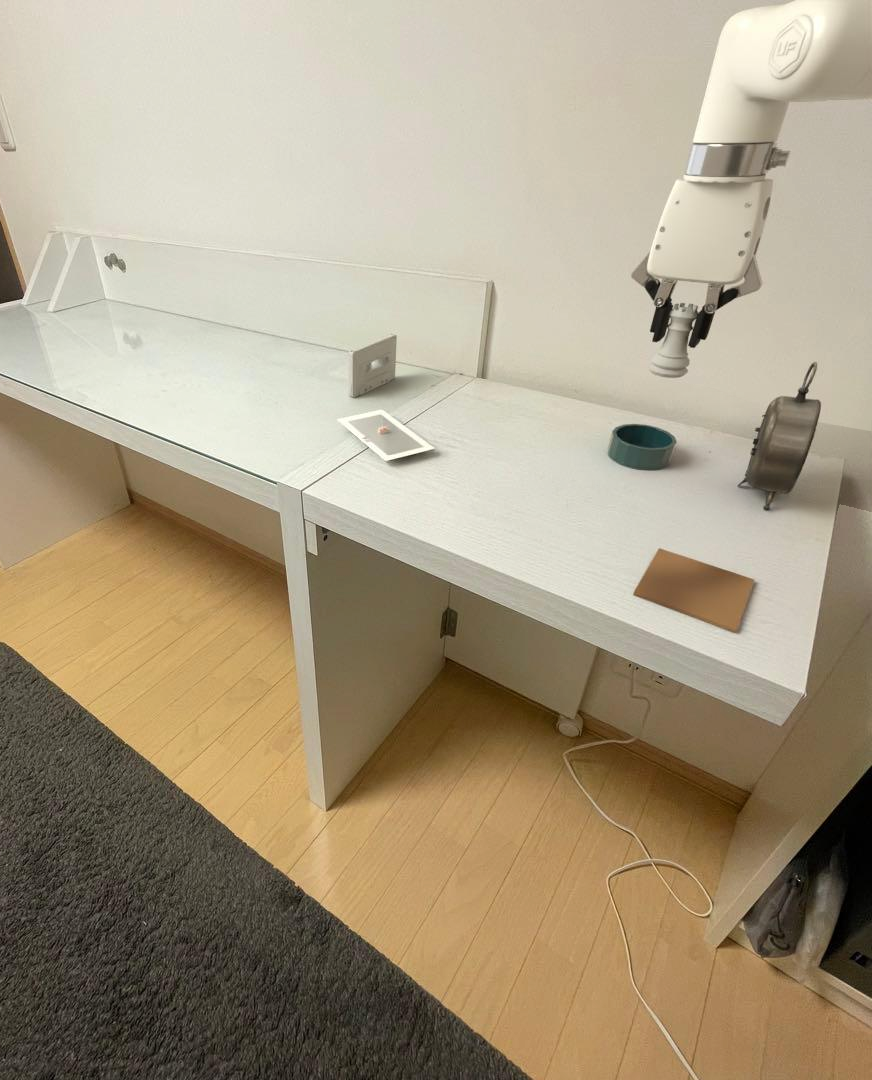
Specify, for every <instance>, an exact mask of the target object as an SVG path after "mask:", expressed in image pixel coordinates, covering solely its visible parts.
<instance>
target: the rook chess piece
mask: <svg viewBox="0 0 872 1080" xmlns="http://www.w3.org/2000/svg"><path fill="white" fill-rule="evenodd" d="M698 309H699V306H698V305H697V304H695V305H694V303H688V305H687V306H686V302H680V303H674V304H673V309H672V310H671V311H670V312H669V313H668V314H669V316H670V321H669V323H668V325H667V331H666V334H665V336H664V340H663V342H662V344H661V346H660V348H659V349H658V350H657V351H656V353H655V354H653V355H652V357H651V359H650V362H651V363H650V364H649V365H648V370H649V372H650V373H651V374H652V375H654V376H658V377H661V378H667V379H677V378H681V377H684V376H685V375H686V374H687V373H688V372H689V369H687V367H689V366H690V361H691V360H690V358H689V357H688V356H689V353H688V344H689V339H690V338H689V337H690V335H691V334H690V333H691V332H692V331H693V327H694V326H693V324H694V322H695V321H696V317H697V314H698V313H699V312H698Z"/></svg>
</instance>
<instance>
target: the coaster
mask: <svg viewBox="0 0 872 1080" xmlns="http://www.w3.org/2000/svg"><path fill="white" fill-rule="evenodd" d="M754 583H755V579H754V578H751V577H748V576H745V575H743V574H739V573H736V572H733V571H729V570H728V569H723V568H721V567H718V566H715V565H712V564H708V563H706V562H703V561H699V560H697V559H693V558H691V557H688V556H684V555H682V554H678V553H675V552H672V551H669V550H666V549H663V548H660V547H659V548H658V549H657V550H656V552H655V555H654V556H653V557H652V560H651V561H650V563H649V564H648V567H647V568H646V570H645V572H644V573H643V575H642V577H641V579H640V581H639V582H638V584H637V585H636V588H635V590H634V591H633V594H632V595H633V596H635V597H638V598H641V599H643V600H647V601H649V602H652V603H654V604H657V605H660V606H663V607H666V608H668V609H670V610H672V611H677V612H678V613H680V614H684V615H686V616H689V617H691V618H695V619H697V620H700V621H703V622H706V623H708V624H711V625H714V626H715V627H719V628H721V629H724V630H727V631H730V632H732V633H735V634H736V633H737V632H738V631H739V627H740V623H741V621H742V618H743V615H744V612H745V609H746V606H747V603H748V600H749V598H750V594H751V591H752V589H753V585H754Z"/></svg>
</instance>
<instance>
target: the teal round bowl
mask: <svg viewBox="0 0 872 1080" xmlns="http://www.w3.org/2000/svg"><path fill="white" fill-rule="evenodd" d="M676 446H677V439H676V437H675V435H673V434H672V433H671V432H669V431H668V430H665V429H663V428H660V427H657V426H653V425H649V424H642V423H627V424H626V423H625V424H621V425H618V426H615V428H614V429H613V430H612V431H611V435H610V438H609V442H608V445H607V451H606V452H607V455H608V457H609V458H610V459H611V460H612V461H613V462H615V463H617V464H619V465H621V466H624V467H626V468H630V469H634V470H641V471H655V470H656V471H657V470H662V469H664V468H666V467H667V466H668V465H670V462H671V461H672V457H673V454H674V452H675V449H676Z"/></svg>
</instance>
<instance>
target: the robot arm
mask: <svg viewBox="0 0 872 1080" xmlns="http://www.w3.org/2000/svg"><path fill="white" fill-rule="evenodd" d="M870 99H872V0H793V1H790V2H788V3H785V4H775V5H764V6H758V7H753V8H749V9H748V8H747V9H743V10H741V11H738V12H736V13H734V14H733V15H732V16H730V17H729V18H728V19H727V21H726V22H725V24H724V25H723V27H722V30H721V32H720V35H719V39H718V42H717V45H716V50H715V54H714V57H713V61H712V65H711V69H710V73H709V77H708V81H707V85H706V89H705V92H704V98H703V101H702V104H701V108H700V111H699V116H698V120H697V124H696V127H695V132H694V135H693V139H692V144H691V147H690V150H689V153H688V154H689V155H688V159H687V162H686V165H685V170H684V174H683V177H678V178H677V179H675V182H674V185H673V186H672V189H671V191H670V193H669V196H668V197H667V201H666V203H665V206H664V208H663V211H662V214H661V217H660V220H659V222H658V225H657V229H656V232H655V235H654V237H653V241H652V245H651V248H650V250H649V252H648V253H647V254H646V255H645V256H644V258H643V259H642V260H641V261H640V263H639V264H638V265H637V266H636V268H634V270H633V271H632V272H631V275H630V277H631V279H632V280H634V281H635V282H636V283H638V284H639V285H640V286H641V287H643V288H644V289H645V292H647V294H648V295H649V297H650V298H651V300H652V301H653V305H654V307H655V308H654V309H655V310H654V314H653V317H652V321H651V326H650V329H649V333H652V334H653V336H652V340H651V342H652V343H659V342H661V340H663V339H664V338H665V337H666V335H667V331H668V328H667V325H669V324H670V320H671V318H670V316H669V314H668V313H669V312H670V311H671V310H672V309H673V308H674V304H673V299H672V296H673V293H674V290H675V288H676V286H677V284H678V281H679V282H690V283H700V284H708V285H707V290H706V298H705V303H704V305H703V306H702V308H701V310H700V311H699V312H698V314H697V317H696V319H695V320H694V323H693V324H694V325H693V326H692V327H693V329H692V330H691V334H690V336H689V337H690V338H689V340H688V345H687V347H689V348H691V349H695V348H696V347H697V346H698V345H699V344H700V342H701V341H705V340H707V338H708V336H709V333H710V329H711V327H712V323H713V320H714V316H715V314H716V312H717V311H718V310H719V309H721V308H723V307H724V306H726V305H727V304H729V303H731V302H732V301H734V300H736V299H739V298H741V297H744V296H747V295H750V294H753V293H755V292H758V291H759V290H760V289H761V288H762V286H763V280H762V276H761V271H760V269H759V264H758V261H757V257H756V256H757V253H758V250H759V247H760V243H761V240H762V237H763V232H764V229H765V225H766V221H767V219H768V218H767V217H768V213H769V208H770V204H771V198H772V195H773V194H772V193H773V185H774V179H772V178H766V176H767V174H768V173H769V171H771V170H772V169H776V168H777V167H786V166H787V163H788V161H789V158H790V155H791V150H783V149H782V148H779V147H778V146H777V145H778V142H777V141H778V139H779V136H780V132H781V129H782V126H783V124H784V120H785V117H786V114H787V112H788V111H787V110H788V108H789V105H790V103H813V102H827V101H857V100H860V101H861V100H870ZM659 279H662V280H661V281H660V280H659ZM743 279H744V280H743ZM742 280H743V282H742V283H740V284H737V283H738V282H741V281H742ZM733 284H737V285H734V286H731V287H728V288H727V289H726V290H725V287H726V285H733Z"/></svg>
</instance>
